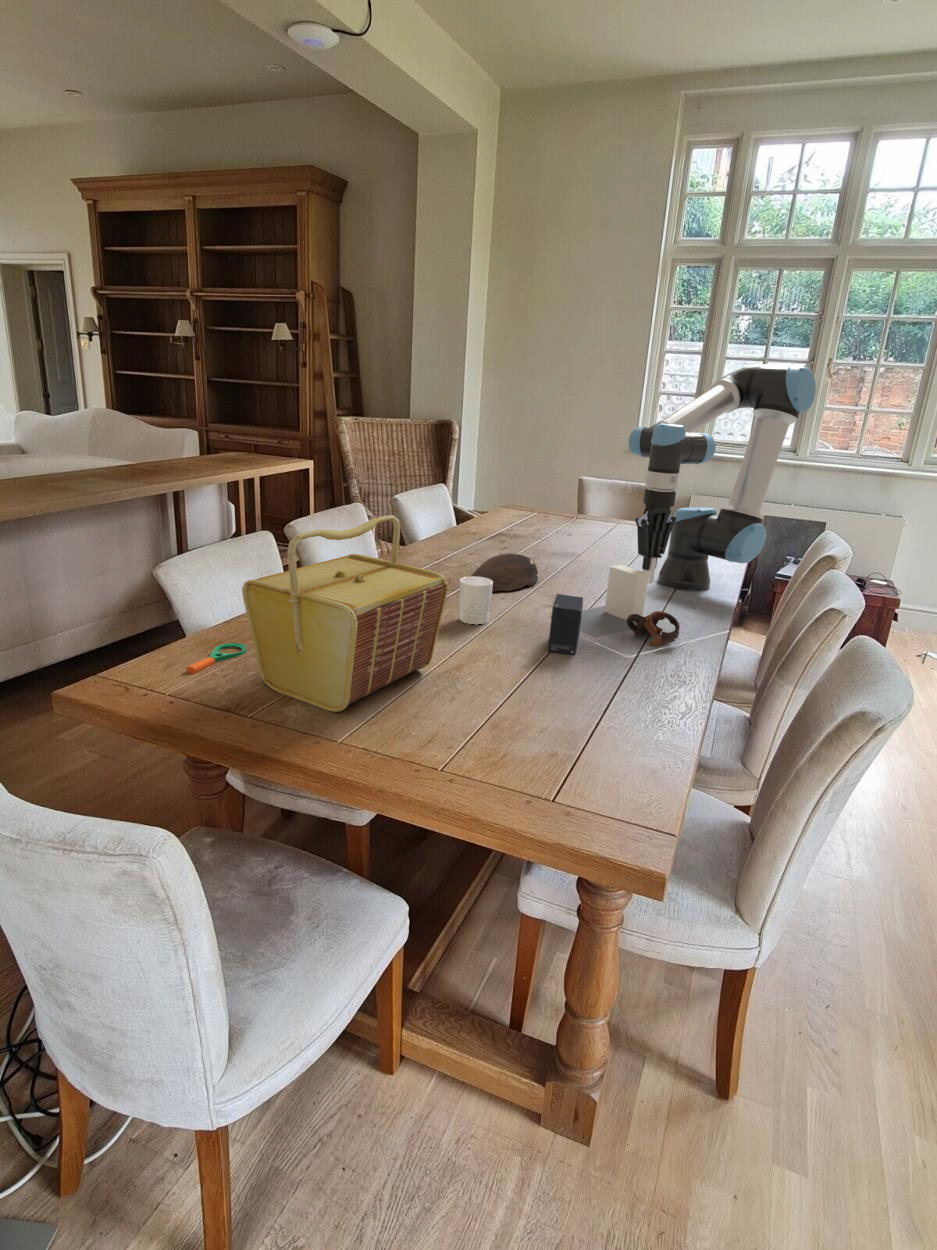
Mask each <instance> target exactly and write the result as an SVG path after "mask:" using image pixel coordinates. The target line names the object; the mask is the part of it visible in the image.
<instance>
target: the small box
mask: <svg viewBox="0 0 937 1250" xmlns="http://www.w3.org/2000/svg"><path fill="white" fill-rule="evenodd" d="M583 608H584V597H583V596H576V595H575V596H574V595H568V594H560V593H556V595H555V599H554V602H553V605H552V609H551V616H552V617H551V618H550V626H549V628H550V629H549V635H548V636H549V637H548V643H547V649H546V650H547V652H552V653H558V654H564V655H565V654H566V655H572V656H575V655H576V652H577V647H578V644H579V640H580V639H579V638H580V633H581V631H580V628H581V620H582V610H583Z"/></svg>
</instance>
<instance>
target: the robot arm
mask: <svg viewBox="0 0 937 1250" xmlns="http://www.w3.org/2000/svg"><path fill="white" fill-rule="evenodd" d="M815 397H816V379H815V375H814V373H813V371H812V370H811V369H810V368H809V367H807V366H805V365H795V364H763V363H762V364H761V363H760V364H759V363H757V364H751V365H748V366H745V367H744V366H743V367H741V368H739V369H737V370H734V371H732V372H730V373H728V374H725V375H724V376H723V377H721V378H719V379H718V380H716V381H715V382H714V383H712V385H711V387H710V389H709V390H707V391H706V392H704V393H702V394H701V395H699V396H697V397H696V398H694V399H693V400H691V401H689V402H688V403H686V404H685V405H683V406H682V407H680V408H679V409H677V410H676V411H674V412H672V413H671V414H669V415H667V416H666V417H665V418H662V420H660V421H658V422H657V423H655V424H653V425H651V426H649V427H647V426H638V427H635V428H634V429H633V430H632V431H631V432H630V435H629V436H628V448H629V449H628V450H629V451H630V452H631V454H633V455H634V456H638V457H642V458H649V460H648V467H647V470H646V471H647V473H646V479H645V484H644V486H645V487H646V489H644V492H643V493H644V494H643V500H642V502H643V504H644V506H645V508H644V510H643V515H642V516H641V517H636V518H635V524H636V528H637V530H636V531H637V553H638V555H639V556H642V557H643V560H642V566H641V568H642V569H641V570H642V572H645V573H648V581H647V584H653V583H654V580H655V573H656V568H657V565H658V559H661V558H662V557H663V555H664V554H665V553H666V548H667V546H668V551H667V556H666V559H665V560H664V562H663V565H662V566H661V569H660V571H659V572H658V577H657V582H658V583H659V584H661V585H662V586H665V587H669V588H672V589H678V590H683V591H704V590H708V589H709V588H710V585H711V577H710V568H709V563H708V561H709V557H714V558H717V559H720V560H725V561H727V562H730V563H737V564H747V563H750V562H751V561H753V560H754V559H755V558H756V557H757V556H758V555H759V554H760V553H761V551H762V550H763V547H764V546H765V543H766V540H767V539H766V538H767V529H766V527H765V526H764V525H763V522H764V521H763V520H764V517H763V516H762V513H761V509H762V505H763V503H764V500H765V497H766V494H767V491H768V489H769V485H770V482H771V480H772V476H773V473H774V471H775V468H776V465H777V462H778V459H779V456H780V453H781V451H782V448H783V447H782V446H783V445H784V441H785V438H786V435H787V432H788V430H789V427H790V426H791V425H792V424H794V423H796V422H797V421H798V420H799V419H798V418H799V416H800V414H801V413H803V414H804V413H805V412H807V411H809V410H810V408H811V407H812V406H813V403H814V400H815ZM745 408H747V409H750V408H751V409H753V411H752V413H753V415H754V417H755V423H754V425H753V428H752V431H751V434H750V437H749V440H748V444H747V446H746V449H745V452H744V455H743V459H742V461H741V464H740V468H739V470H738V474H737V477H736V479H735V482H734V485H733V489H732V492H731V494H730V498H729V501H728V503H727V504H726V505H724V506H722V507H721V508H720V510H719V513H718V514H717V509H716V508H713V507H701V506H700V507H696V506H695V507H694V506H693V507H681V508H678V509H676V510H675V512H674V514H673V515H672V510H671V508H672V507H674V506H675V501H676V496H677V492H676V491H675V490H676V489H677V487H678V480H679V475H680V469H681V465H699V464H700V465H701V464H705V463H707V462H710V460H712V458H713V457H714V456H715V452H716V448H717V447H716V446H717V445H716V441H715V439H714V438H713V436H711V434H708V433H705V432H699V430H700V429H701V428H703V427H704V426H707V425H708V424H709V423H711V422H712V421H714V420H715V419H717V418H718V417H720V416H721V415H723V414H730V413H733V412H734V411H736V410H738V409H745ZM697 431H698V432H697ZM668 542H669V545H668Z"/></svg>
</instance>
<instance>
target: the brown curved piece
mask: <svg viewBox="0 0 937 1250" xmlns="http://www.w3.org/2000/svg"><path fill="white" fill-rule="evenodd" d="M665 619H667V620H668V622H669V624H671V625H673V626H674V630H672V631H668V632H666V631H663V630H664V629H663V628H661V627H659V626H658V625H657V624H658V623H659V621H663V620H665ZM626 621H627V625H628V627H629V628H630V629H629V630H630V631H631V632H633V633H634V636H635V637H638V636H639V635H643V634H649V635H651V637H653V638H652V640H651V642H650V643H649V646H650V647H654V648H658V647H659V646H664V645H669V644H671V643H673V642H675V641H676V640H677V639H678V638H679V634H680V629H681V628H680V623H679V621H678V619H677V618H676V617H675V616H673V614H670V613H669V612H665V611H663V610H662V611H661V610H657V611H653V612H651V613H650V614H648V615H645V616H640V615H639V614H632V615H630V616H629V617H628V618H627V620H626ZM633 621H635V622H636V623H637V625H635V624H634V623H633Z"/></svg>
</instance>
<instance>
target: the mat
mask: <svg viewBox="0 0 937 1250" xmlns="http://www.w3.org/2000/svg"><path fill="white" fill-rule="evenodd" d="M551 617H552V615H551V616H549V618H550V619H551ZM633 623H634V624H635V625H637V623H636V622H635V621H634V622H633ZM629 630H631V629H630V628H629V627H628V625H627V621H626V620H624V619H622V618H619V617H617V616H614V615H612V614H609V613H606V612H605V605H604V606H597V607H592V608H587V609H584V610H582V620H581V628H580V632H583V633H585V634H588V635H590V636H592V637H595V638H597V637H602V636H605V635H610V634H615V633H619V632H623V631H629Z"/></svg>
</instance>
